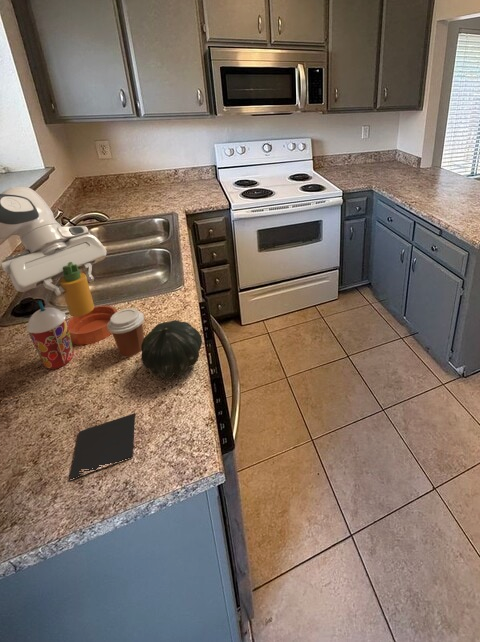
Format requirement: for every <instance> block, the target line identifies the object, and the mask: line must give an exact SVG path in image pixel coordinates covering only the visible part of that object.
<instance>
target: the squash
mask: <svg viewBox="0 0 480 642" xmlns="http://www.w3.org/2000/svg"><path fill="white" fill-rule="evenodd" d="M202 345H203V339H202V335H201V333H200V332H199V330H197V329H196V328H195V327H194V326H192V325H191V324H190V323H189V322H186V321H180V320H177V319H174V320H170V321H163V322H159V323H158V324H157V325H155V326H154V327H153V328H152V330H151V331H150V332H148V333H147V334H146V335H144V339H143V342H142V345H141V350H142V351H141V362H142V364H143V367H145V369H148V370H149V372H150V373H151V374H153V375H159V376H161V378H162V379H165V380H169V379H170V378H172V377H173V376H174V375H175V376H182V375H183V374H185V372H186V371H187V369H188V368H189V367H190V368H191V367H192V366H194V365H195V364H196V363H197V362H198V360H199V358H200V350H201V347H202Z"/></svg>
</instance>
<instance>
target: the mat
mask: <svg viewBox="0 0 480 642" xmlns="http://www.w3.org/2000/svg"><path fill="white" fill-rule="evenodd" d="M135 423H136V413H134V412H133V413H131V414H128V415H125V416H122V417H118V418H115V419H113V420H110V421H107V422H103V423H101V424H97V425H94V426H91V427H88V428H85V429H83V430H79V431H78V436H77V440H76V445H75V449H74V450H75V451H74V455H73V459H72V463H71V469H70V474H69V479H68V480H69V481H70V479H73V478H76V477H78V476H80V475H81V474H79V473H83V472H79V471H81V469H89V470H84V471H90V470H96V469H97V468H98V467H101V466H99V465H105V464H110V463H115V462H119V461H122V460H125V459H128V458H131V457H133V458H134V444H135V442H134V441H135V426H136V425H135ZM131 459H132V458H131ZM128 460H129V459H128ZM125 461H126V460H125ZM92 468H93V469H92Z"/></svg>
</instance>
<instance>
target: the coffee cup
mask: <svg viewBox="0 0 480 642" xmlns="http://www.w3.org/2000/svg"><path fill="white" fill-rule="evenodd" d="M144 321H145V315H144V313H143V312H142V311H141V310H138V309H137V308H134V307H127V308H123V309H120V310H117V312H116V313H115V314H113V315H112V317H111V318H110V321H109V322H108V324H107V329H108V331H109V332H111V333H112V334H111V335H112V337H113V340H114V342H115V345H116V347H117V349H118V352H119V355H121V357H124V358H129V357H133V356H136V355H138V354H140V353H142V350H141V345H142V342H143V339H144V338H145V334H144V327H143V326H144V325H143V322H144Z"/></svg>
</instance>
